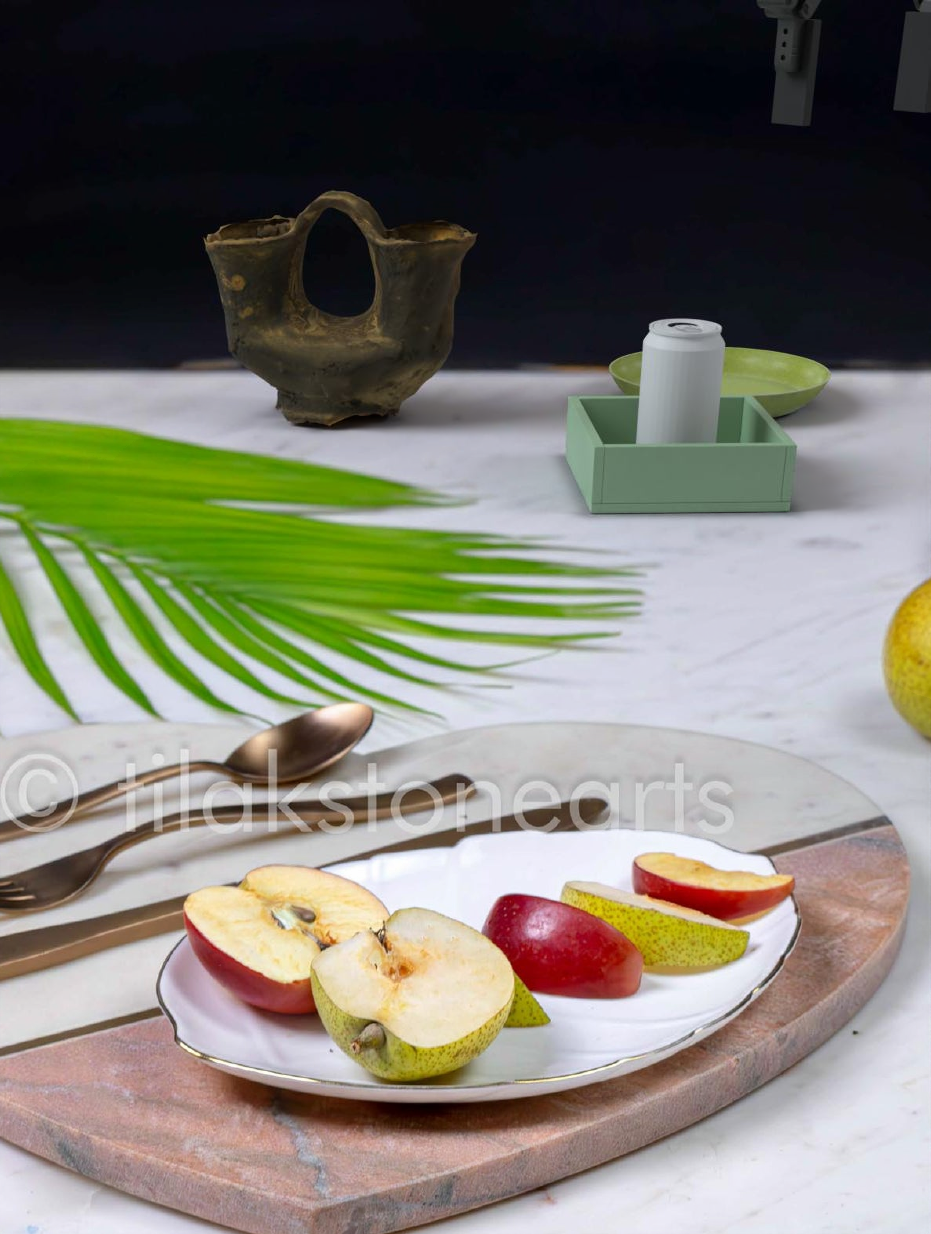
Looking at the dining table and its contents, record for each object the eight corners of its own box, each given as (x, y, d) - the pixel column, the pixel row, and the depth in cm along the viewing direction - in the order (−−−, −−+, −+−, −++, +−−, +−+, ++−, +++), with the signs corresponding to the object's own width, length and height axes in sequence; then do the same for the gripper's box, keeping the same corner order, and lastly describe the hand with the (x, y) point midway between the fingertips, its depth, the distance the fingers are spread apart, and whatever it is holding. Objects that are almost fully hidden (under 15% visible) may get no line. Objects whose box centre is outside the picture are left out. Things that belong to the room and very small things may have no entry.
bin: (745, 455, 146) (751, 394, 144) (789, 511, 132) (797, 445, 130) (565, 457, 146) (568, 396, 144) (590, 513, 132) (594, 447, 130)
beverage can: (698, 460, 142) (711, 314, 137) (723, 483, 136) (738, 331, 131) (624, 464, 141) (634, 317, 136) (647, 486, 136) (658, 334, 130)
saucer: (861, 396, 164) (865, 362, 163) (769, 443, 150) (773, 407, 148) (669, 366, 175) (672, 335, 174) (566, 408, 161) (568, 374, 159)
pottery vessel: (483, 409, 160) (489, 188, 151) (460, 440, 151) (466, 206, 142) (230, 394, 166) (222, 179, 157) (194, 422, 156) (182, 196, 147)
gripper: (959, -224, 119) (915, 102, 129) (721, -241, 105) (692, 125, 115) (1056, -230, 114) (1003, 110, 123) (819, -250, 100) (779, 135, 110)
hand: (853, 118), depth 119 cm, fingers open, 13 cm apart
